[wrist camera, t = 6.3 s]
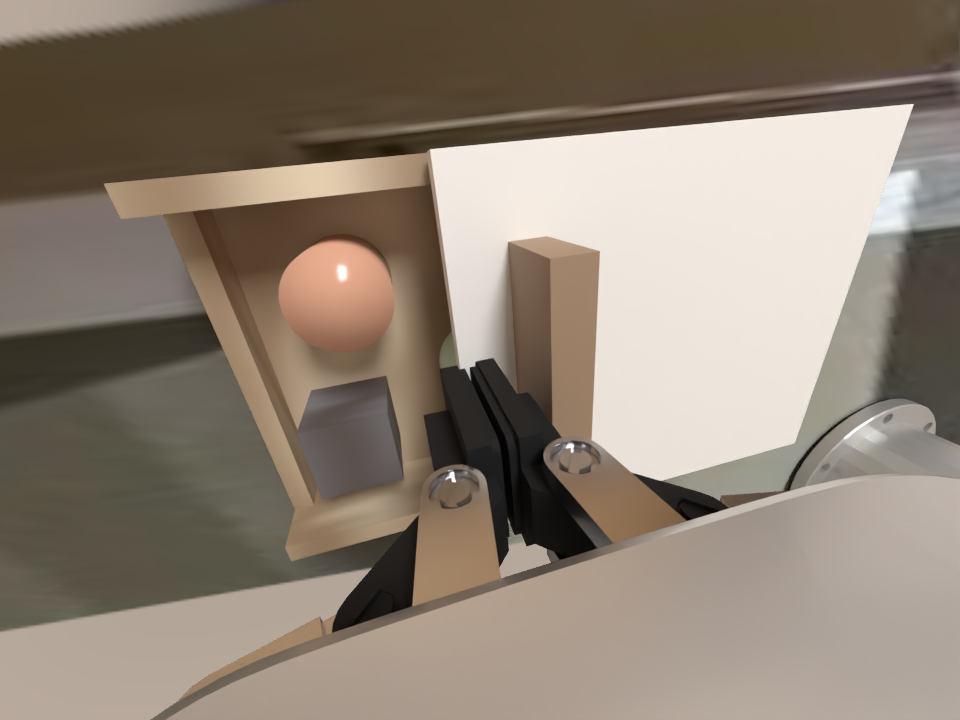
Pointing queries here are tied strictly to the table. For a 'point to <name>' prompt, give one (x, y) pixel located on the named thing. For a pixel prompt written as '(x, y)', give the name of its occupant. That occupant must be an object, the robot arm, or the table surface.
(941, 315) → the table surface
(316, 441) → the charcoal block
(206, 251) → the oak box
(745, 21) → the table surface
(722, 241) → the sliding lid
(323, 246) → the glossy peach egg
